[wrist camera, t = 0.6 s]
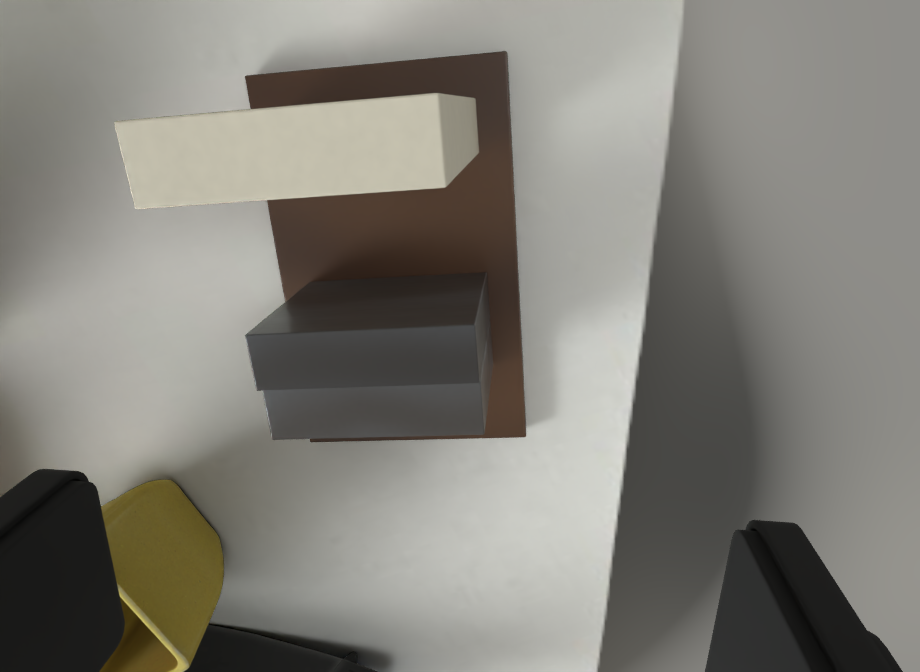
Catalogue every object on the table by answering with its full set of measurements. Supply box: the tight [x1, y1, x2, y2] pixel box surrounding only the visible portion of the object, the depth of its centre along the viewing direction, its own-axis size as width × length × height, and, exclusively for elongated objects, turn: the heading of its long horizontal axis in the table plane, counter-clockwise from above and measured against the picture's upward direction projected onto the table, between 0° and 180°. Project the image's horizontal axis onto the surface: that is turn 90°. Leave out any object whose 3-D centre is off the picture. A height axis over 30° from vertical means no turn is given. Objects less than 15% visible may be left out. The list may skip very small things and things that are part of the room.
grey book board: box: [245, 51, 526, 442], centre depth 28 cm, size 19×12×9 cm, turn 5°
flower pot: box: [99, 480, 224, 672], centre depth 35 cm, size 9×9×9 cm
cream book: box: [114, 93, 479, 209], centre depth 23 cm, size 2×9×13 cm, turn 95°
